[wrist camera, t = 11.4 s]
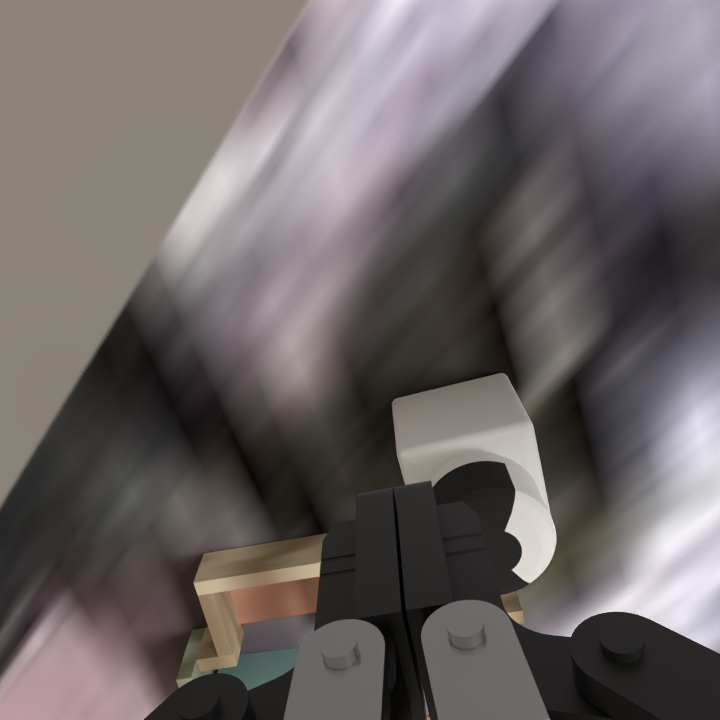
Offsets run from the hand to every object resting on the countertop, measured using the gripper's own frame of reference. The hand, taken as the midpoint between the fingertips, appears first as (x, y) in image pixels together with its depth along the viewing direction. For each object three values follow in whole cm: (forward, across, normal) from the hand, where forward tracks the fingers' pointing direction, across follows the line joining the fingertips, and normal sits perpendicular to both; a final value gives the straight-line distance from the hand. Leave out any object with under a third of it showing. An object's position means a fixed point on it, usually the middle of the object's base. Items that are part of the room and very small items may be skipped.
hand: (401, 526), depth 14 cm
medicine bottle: (+27, -3, +12) cm, 30 cm away
